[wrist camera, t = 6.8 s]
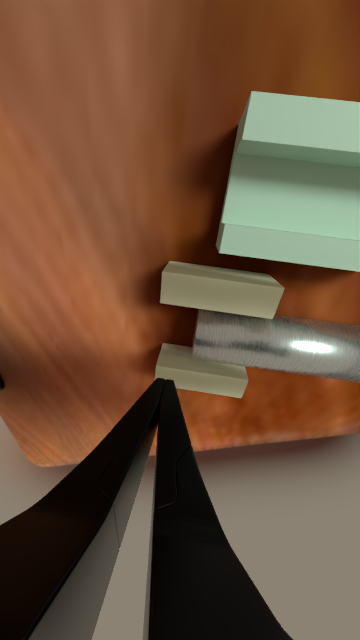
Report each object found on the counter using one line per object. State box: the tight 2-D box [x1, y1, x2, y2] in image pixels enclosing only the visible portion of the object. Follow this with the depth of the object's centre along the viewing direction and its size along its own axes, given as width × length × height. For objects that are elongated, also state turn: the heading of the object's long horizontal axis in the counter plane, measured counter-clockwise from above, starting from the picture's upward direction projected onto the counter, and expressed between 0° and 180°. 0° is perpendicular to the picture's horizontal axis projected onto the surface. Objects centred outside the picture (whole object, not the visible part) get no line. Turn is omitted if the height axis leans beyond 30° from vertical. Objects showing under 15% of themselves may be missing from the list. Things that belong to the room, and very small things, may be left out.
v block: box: [216, 91, 360, 272], centre depth 10 cm, size 6×10×3 cm, turn 84°
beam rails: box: [155, 261, 285, 398], centre depth 14 cm, size 9×7×3 cm
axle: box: [192, 309, 360, 383], centre depth 14 cm, size 14×4×4 cm, turn 84°
